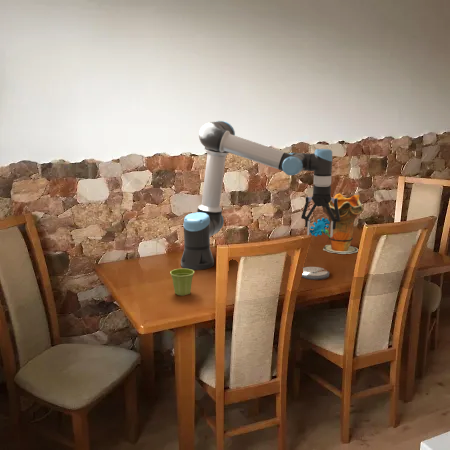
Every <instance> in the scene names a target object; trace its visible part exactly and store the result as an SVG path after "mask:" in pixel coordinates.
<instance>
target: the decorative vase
mask: <svg viewBox="0 0 450 450" xmlns="http://www.w3.org/2000/svg"><path fill="white" fill-rule="evenodd" d="M360 197H361V195H360V194H354V195H351V197H346V196H344V195H343V194H342V193H336V194H335V195H334V197H333V198H338V202H337V204H338V209H339V214H340V221H337V222H336V228H335V229H333V236H332V237H329V236H328V241H329V240H330V244H326V245H325V246H324V247H323V251H326V252H328V253H333V254H339V255H340V254H341V255H346V254H354V253H358V252H359V251H358V250H359V248H357V247H356V246H353V245H352V240H354V238H353V234H354V226H355V220H356V218H357V217H358V216H359V214H361V213H363V212H364V210H365V209H364V206H363V204H362V203H361V201H360ZM329 205H330V208H331V210H332V212H333V214H334V216H335V218H337V217H336V213H335V208H334V203H333V202H332V201H330V202H329ZM321 207H322V206H321ZM322 212H323V213H325V214H326V216H327V217H328V221H329V222H330V224H328V225H329V228H328V231H329V234H330V233H331V222H332V219H331V217H330V215H329V213H328V211H327V209H326V207H322ZM328 241H327V242H326V243H328Z"/></svg>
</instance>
